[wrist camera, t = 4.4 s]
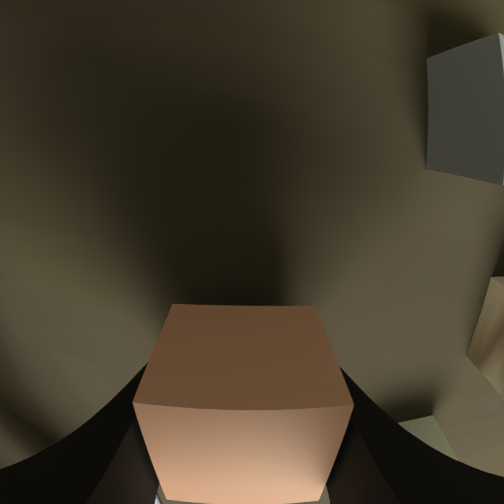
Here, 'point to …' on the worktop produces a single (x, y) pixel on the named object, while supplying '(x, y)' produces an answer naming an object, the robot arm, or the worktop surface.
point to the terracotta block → (243, 404)
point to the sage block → (429, 434)
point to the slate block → (467, 110)
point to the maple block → (490, 336)
